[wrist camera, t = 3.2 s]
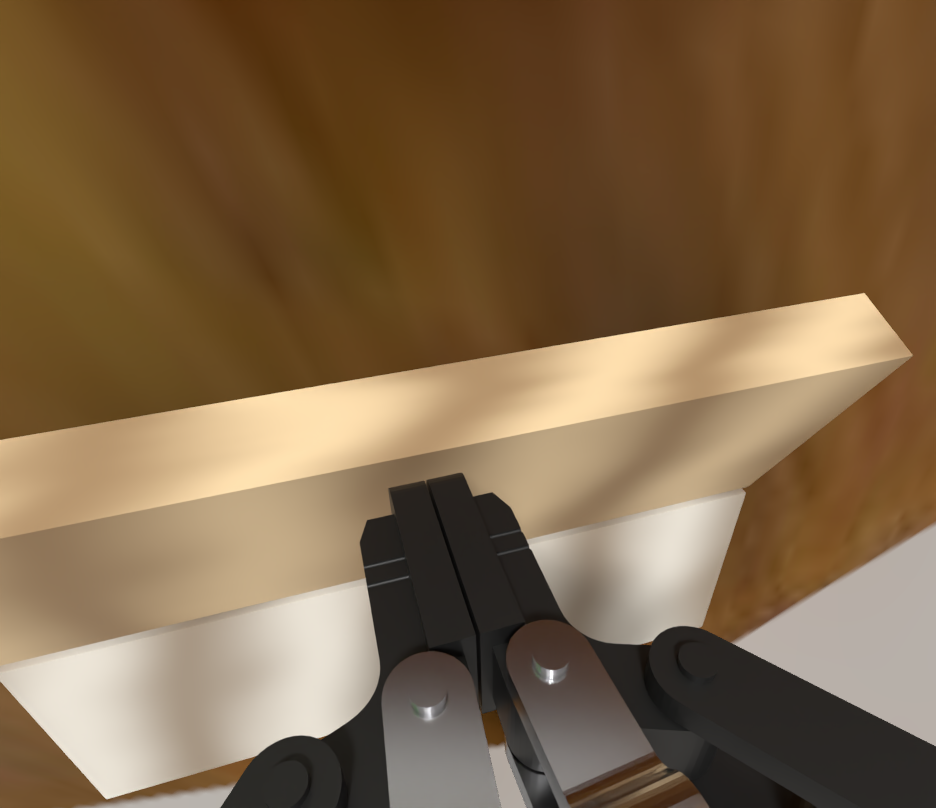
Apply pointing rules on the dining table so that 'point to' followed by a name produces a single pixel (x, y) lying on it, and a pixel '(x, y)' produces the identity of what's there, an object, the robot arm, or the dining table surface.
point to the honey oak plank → (405, 463)
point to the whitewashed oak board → (336, 651)
